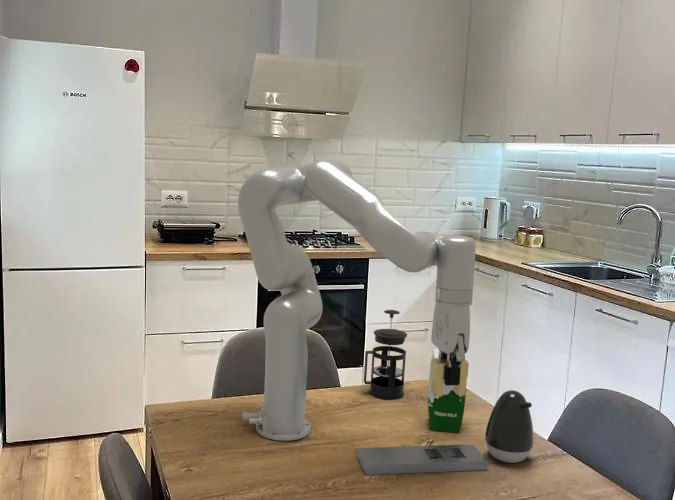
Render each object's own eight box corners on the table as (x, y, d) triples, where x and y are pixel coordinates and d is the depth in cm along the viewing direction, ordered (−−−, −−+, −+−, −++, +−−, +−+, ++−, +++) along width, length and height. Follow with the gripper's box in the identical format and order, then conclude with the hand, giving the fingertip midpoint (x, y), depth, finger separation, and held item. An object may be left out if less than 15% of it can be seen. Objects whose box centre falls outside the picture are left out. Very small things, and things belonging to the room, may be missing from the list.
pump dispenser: (505, 472, 140) (512, 402, 138) (473, 451, 149) (479, 385, 147) (542, 464, 145) (549, 396, 143) (509, 444, 154) (515, 380, 152)
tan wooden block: (434, 396, 139) (436, 363, 138) (429, 391, 142) (431, 359, 141) (466, 395, 141) (468, 362, 140) (460, 390, 144) (463, 358, 143)
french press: (400, 387, 188) (406, 306, 185) (410, 399, 179) (416, 315, 176) (359, 387, 186) (364, 306, 183) (367, 400, 177) (372, 314, 173)
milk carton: (426, 431, 159) (432, 349, 156) (425, 416, 168) (431, 338, 165) (464, 434, 158) (471, 352, 155) (461, 419, 167) (467, 341, 164)
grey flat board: (365, 475, 136) (366, 465, 135) (357, 457, 143) (357, 448, 143) (486, 469, 141) (487, 460, 140) (472, 452, 149) (472, 444, 148)
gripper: (423, 288, 146) (418, 370, 148) (451, 304, 130) (445, 396, 132) (456, 287, 147) (451, 369, 150) (487, 304, 131) (481, 395, 134)
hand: (448, 381), depth 141 cm, fingers closed on tan wooden block, 3 cm apart
